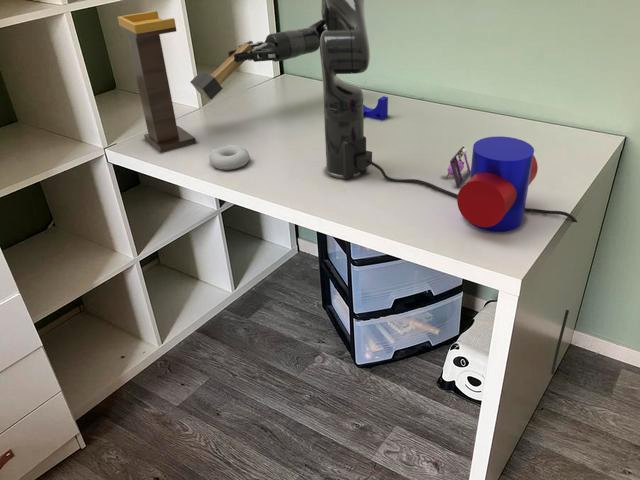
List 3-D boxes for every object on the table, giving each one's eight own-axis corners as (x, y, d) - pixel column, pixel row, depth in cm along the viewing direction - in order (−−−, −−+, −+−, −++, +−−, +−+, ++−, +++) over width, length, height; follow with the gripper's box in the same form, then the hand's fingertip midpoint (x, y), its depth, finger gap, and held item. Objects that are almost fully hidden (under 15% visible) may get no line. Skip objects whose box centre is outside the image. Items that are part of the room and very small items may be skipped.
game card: (454, 160, 142) (466, 145, 149) (433, 163, 145) (446, 149, 151) (461, 187, 145) (473, 171, 151) (441, 189, 148) (453, 174, 154)
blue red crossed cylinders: (485, 192, 143) (493, 126, 134) (536, 204, 138) (547, 136, 129) (449, 231, 129) (455, 160, 120) (504, 246, 124) (515, 174, 115)
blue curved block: (345, 114, 185) (344, 94, 182) (353, 109, 188) (353, 89, 185) (379, 121, 180) (379, 101, 176) (387, 117, 183) (387, 97, 179)
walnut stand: (196, 142, 168) (176, 27, 151) (161, 152, 163) (136, 34, 146) (178, 130, 176) (157, 18, 158) (144, 139, 171) (119, 25, 153)
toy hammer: (259, 53, 170) (251, 41, 167) (211, 99, 168) (202, 88, 165) (245, 47, 175) (237, 36, 172) (198, 92, 172) (189, 81, 169)
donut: (204, 170, 154) (242, 173, 153) (201, 157, 153) (240, 160, 151) (219, 154, 163) (255, 156, 161) (217, 141, 161) (254, 143, 159)
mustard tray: (176, 27, 151) (174, 18, 150) (136, 34, 146) (134, 25, 145) (157, 18, 158) (156, 10, 157) (119, 25, 153) (117, 16, 152)
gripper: (271, 26, 181) (217, 37, 172) (298, 36, 172) (242, 48, 163) (274, 53, 185) (221, 64, 176) (300, 64, 176) (246, 76, 167)
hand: (232, 56), depth 170 cm, fingers closed on toy hammer, 2 cm apart
